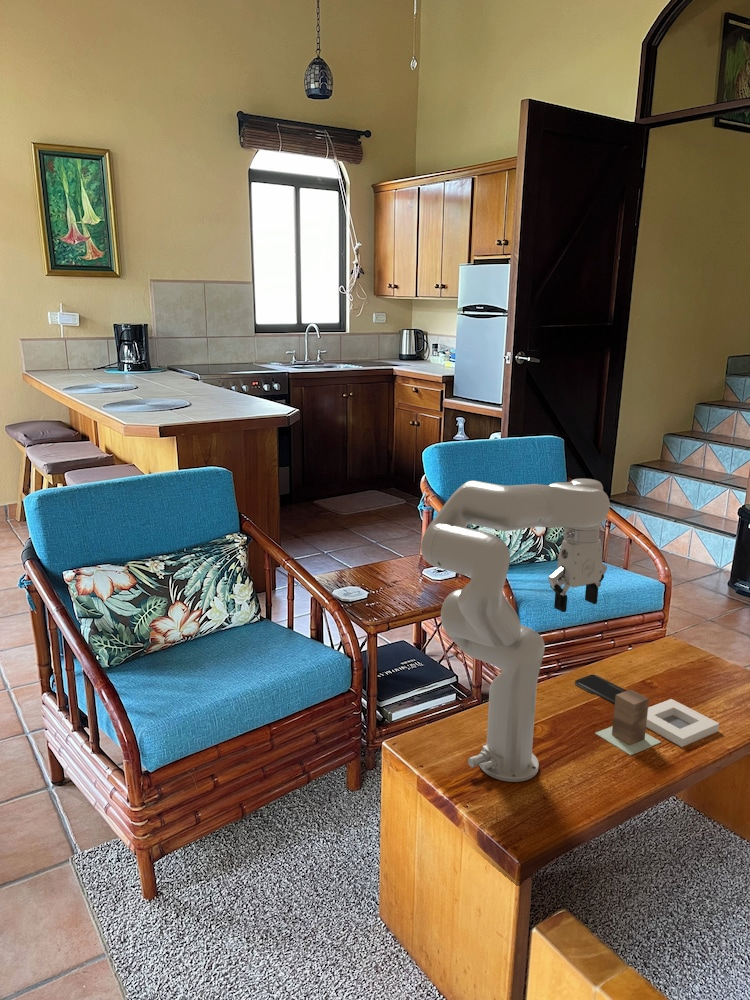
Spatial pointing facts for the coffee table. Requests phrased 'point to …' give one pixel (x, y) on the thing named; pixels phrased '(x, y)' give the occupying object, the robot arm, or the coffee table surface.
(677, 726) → the pocket plate
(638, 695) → the walnut block
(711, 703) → the coffee table surface
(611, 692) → the phone
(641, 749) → the green mat
